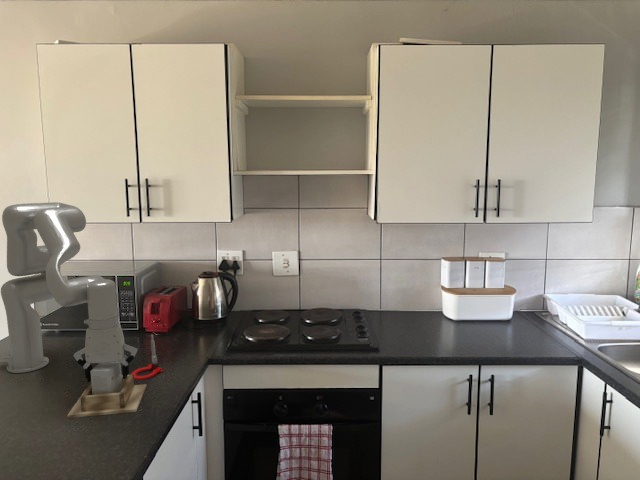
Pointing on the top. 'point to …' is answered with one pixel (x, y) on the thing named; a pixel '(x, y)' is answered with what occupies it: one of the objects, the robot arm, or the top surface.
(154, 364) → the tow hook
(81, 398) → the well
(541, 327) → the top surface
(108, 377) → the small box
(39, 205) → the robot arm
